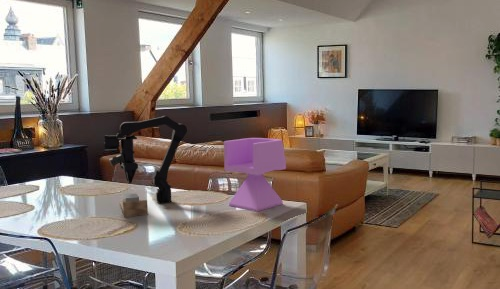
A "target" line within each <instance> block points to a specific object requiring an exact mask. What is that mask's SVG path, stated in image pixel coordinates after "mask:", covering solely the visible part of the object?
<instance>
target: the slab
mask: <svg viewBox="0 0 500 289" xmlns="http://www.w3.org/2000/svg"><path fill="white" fill-rule="evenodd" d="M123 198H124V200H125V202H130V201H139V200H140V196H139V195H138V194H137V192H135V191H134V192H123V193H122V199H123Z"/></svg>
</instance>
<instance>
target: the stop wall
mask: <svg viewBox="0 0 500 289" xmlns="http://www.w3.org/2000/svg"><path fill="white" fill-rule="evenodd" d="M140 200H141V201H130V202H123V201H122V203H123V211H124V212H123V213H124V215H123V217H124V218H126V217H134V216H135V217H137V216H145V215H147V216H148V213H149V212H148V200H147V199H143V200H142V199H140ZM123 213H122V214H123Z"/></svg>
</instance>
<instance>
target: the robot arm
mask: <svg viewBox="0 0 500 289" xmlns="http://www.w3.org/2000/svg"><path fill="white" fill-rule="evenodd" d="M163 125H165V126H167V127H169V128H170V129H172V133H171V139H170V143H169V145H168V148H167V150H166V152H165V155H164V158H163V160H162V162H161V165H160V167H159V168H158V169H156V168H155V169H154V172H153V174H152V177H151V178H152V182H153V185H154V186H155V187H157V189H156V192H155V201H156V202H157V203H158V204H165V203H167V204H168V203H173V200H172V189H171V187H172V185H171V184H170V183H169V182H168V181H167V180H168V174H169V169H170V167H171V164H172V162H173V159H174V157H175V154H176V152H177V149H178V148H179V144H180V143H181V142H182V141H183V139H184V138H185V137H186V135H187V133H188V128H187V126H186V125H185V124H183V123H177V122H176V121H175V120H174V119H171V118H170V117H169V116H167V115H162V116H159V117H155V118H151V119H146V120H145V119H144V120H141V121H124V122H122V123H121V124H120V125H119V131H118V132H117V133H116V135H108V134H107V135H106V134H105V135H104V151H115V150H118V148H120V152H119V154H118V155H115V156H112V157H110V158H108V160H109V163H110V165H111V166H112V167H114V166H116V165H118V166H119V167H120V169H123V172H124V176H125V180H126V181H127V182H128V183H129V184H132V182H133V180H134V177H135V175H136V171H137V169H139V164H138V163H137V162H136V160H135V154H136V153H135V150H134V140H137V139H138V137H137V136H136V135H135V134H134V133H136V132H138V131H140V130H145V129H149V128H153V127H159V126H163ZM131 134H132V135H131ZM124 136H125V137H124Z"/></svg>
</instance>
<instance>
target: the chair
mask: <svg viewBox="0 0 500 289" xmlns="http://www.w3.org/2000/svg"><path fill="white" fill-rule="evenodd" d="M223 162H224V164H223V165H224V166H223V167H224V168H223V169H224V171H225V172H236V173H237V172H238V173H241V174H245V175H246V174H247V176H246V178H245V179H244V181H243V183H242V184H241V185H240V186H239V188H238V189H237V191H236V192H235V193H234V195H233V197H232V198H231V200H230V201H229V202H228V206H229V207H233V208H238V209H243V210H247V211H253V212H256V213H257V212H261V211H264V210H267V209H270V208H271V209H272V208H275V207H278V206H282V205H283V204H284V202H283V200H282V198H281V197H280V196H279V194H278V193H277V191H275V189H274V188H273V186H271V184H270V183H269V182H268V180H267V179H266V178H265V177H264V174H266V173H269V172H274V171H282V170H286V169H287V162H286V155H285V150H284V142H283V139H278V138H266V137H264V138H263V137H248V138H247V137H246V138H240V139H238V138H237V139H232V140H225V141H223Z"/></svg>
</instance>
